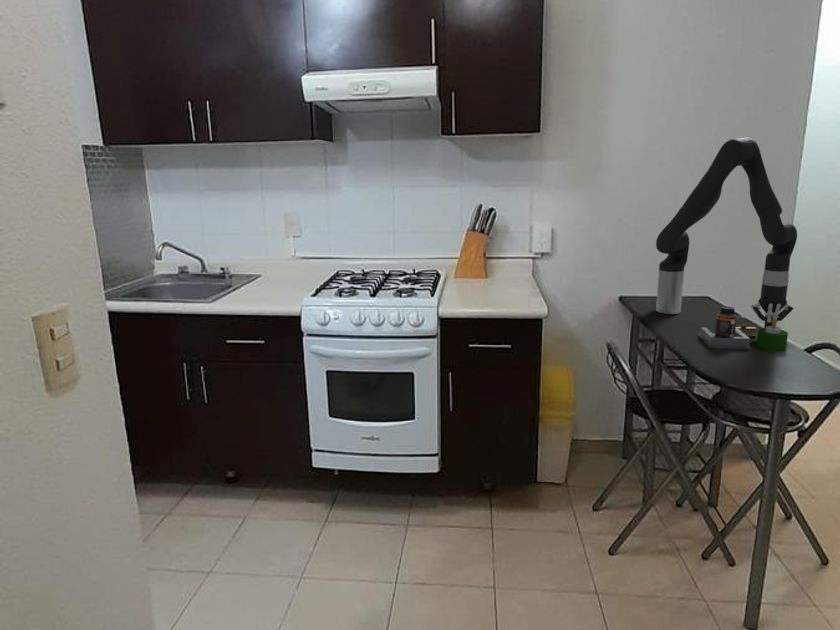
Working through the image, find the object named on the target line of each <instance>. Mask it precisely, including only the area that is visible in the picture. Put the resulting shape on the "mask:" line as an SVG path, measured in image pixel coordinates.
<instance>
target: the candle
mask: <svg viewBox="0 0 840 630" xmlns="http://www.w3.org/2000/svg"><path fill="white" fill-rule="evenodd" d="M777 322H778V321H777V320H776V319H775V318H774V319H773V320H772V326H767V327H766V328H764V327H763V328H759V329H758V330H757V331H758V332H757V340H756V349H758V350H761V351H765V352H773V353H780V352H781V353H782V352H785V351H786V350H787V344H788V336H789V332H787V330H783V329H782V327H779V326H777Z"/></svg>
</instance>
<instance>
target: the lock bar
mask: <svg viewBox="0 0 840 630" xmlns="http://www.w3.org/2000/svg"><path fill="white" fill-rule="evenodd" d="M736 328H738V329H739V330H740V331H742V332H743V333H744V334H745V335H746V336H748V337H749V338H751V336H755V337H756V336H757V331H758V330H757V327H755V326H753V327H752V326H747V325H746V324H745V323H744V324H743V323H742V324H740V326H736ZM755 337H754V338H755Z"/></svg>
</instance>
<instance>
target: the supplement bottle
mask: <svg viewBox="0 0 840 630" xmlns="http://www.w3.org/2000/svg"><path fill="white" fill-rule="evenodd" d="M737 318H738V316H737V314H736V313H735V307H733V306H727V305H726V306H724V305H723V306H720V312H718V313H717V314H716V320H715V322H716V323H715V337H735V331H736V327H737V321H738V320H737Z"/></svg>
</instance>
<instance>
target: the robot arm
mask: <svg viewBox="0 0 840 630" xmlns="http://www.w3.org/2000/svg"><path fill="white" fill-rule="evenodd" d="M738 166H741V167H742V169H743V170H744V172H745V173H746V177H747V179H748V182H749V183H748V185H749V197H750V201H751V204H752V206H753V208H754V210H755V212H756V214H757V216H758V218H759V222H760V228H761V233H762V236H763V238H764V240H765V241H766V242H767V243H768V244H769V245H771V246H772V248H771V250H770V251H769V252H768V253H767V254H766V255H765V261H764V262H765V263H764V269H763V270H764V271H763V275H762V279H761V280H762V281H761V288H760V298H759V299H758V302H757V303H755V304H752V305H751V306H750V308H751V309H752V311H753V312H754V313H755V314H756V316H757V317H758V318H759V320H761V321H763V322H764V327H763V328H766V327H767V326H772V320H773V319H774V318H775V319H776V320H777V322H781V321H783V320H784V319H785V318H786V317H787V316H788V315H789V314H790V313H791V312H792V311H793V310H794V307H793V306H792V305H789V304H788V301H787V296H788V295H787V293H788V287H789V282H790V281H789V279H790V273H789V272H790V263H791V257H792V254H793V251H794V250H795V249H794V248H795V246H796V243H797V240H798V231H797V228H796V227H795V225H794V224H792V223H790V222H783V221H782V218H781V215H782V214H783V208H782V206H781V203H780V202H779V200H778V198H777V195H776V194H775V192H774V189H773V188H772V186H771V183H770V180H769V177H768V173H767V169H766V168H765V163H764V161H763V157H762V154H761V150H760V147H759V145H758V143H757V141H756V140H755V139H753V138H751V137H748V136H747V137H744V136H743V137H736V138H731V139H729V140H727V141H726V142H724V144H722V146H721V147H720V149H719V151H717V154H716V156H715V157H714V159H713V161H712V163H711V165H710V166H709V168H708V169H707V171H706V173H705V174H704V175H703V176H702V178H701V179H700V181H699V182H698V183H697V185H696V186H695V187H694V189H693V190H692V192H691V193H690V194H689V196H688V197H687V199H686V200H685V202H684V203H683V205H682V206H681V207H680V209H679V210H678V211H677V213H676V214H675V215H674V216H673V218H672V219H671V220H670V222H668V224H666V226H665V227H664V228H663V229H662V230H661V232H660V233H659V234H658V235H657V238H656V241H655V246H656V250H657V251H658V252H659V253H661V254H666V255H667V256H666V258H665V259H663V260H662V261H660V263H659V265H658V279H657V280H658V281H657V293H656V295H657V296H656V307H655V311H656V312H657V313H660V314H665V315H677V314H680V313H681V311H682V310H681V309H682V301H683V290H684V289H683V288H684V287H683V285H684V275H685V274H684V273H685V267H686V264H687V262H688V256H689V250H690V237H689V234H688V232H687V230H688V229H689V228H691V227H692V226H693V225H696V224H697V223H698V222H699V221H701V220H702V219H703V218H704V217H706V216H707V215H708V214H709V213H710V212H711V211H712V209H713V208H714V207H715V206H716V204H717V203H718V201H719V200H720V197H721V195H722V190H723V185H724V184H725V183H724V182H725V181H726V179H727V178H728V177H729V176H730V174H731V172H733V170H735V168H737V167H738ZM761 309H762V310H763V311H764V313H762V312H761V311H760V310H761Z"/></svg>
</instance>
